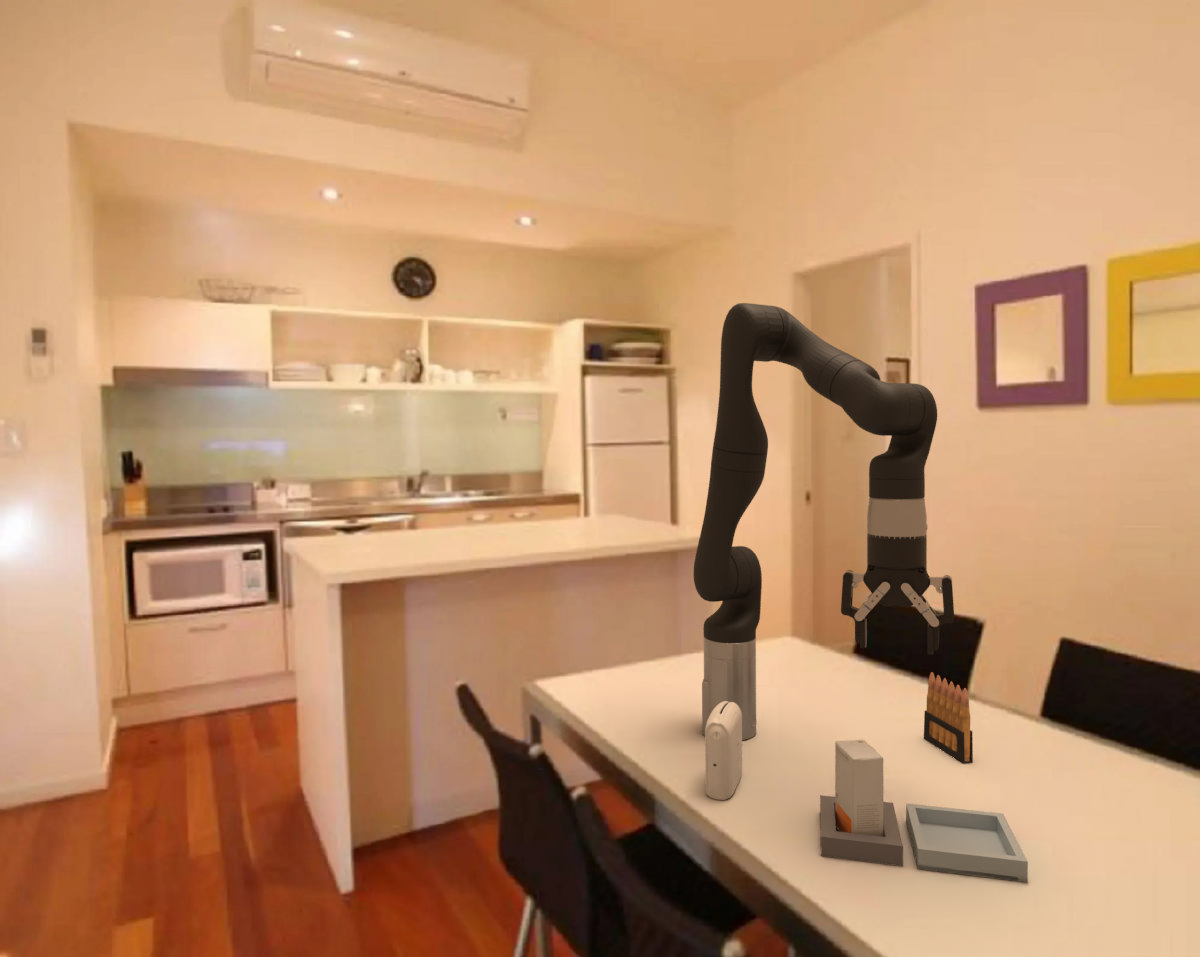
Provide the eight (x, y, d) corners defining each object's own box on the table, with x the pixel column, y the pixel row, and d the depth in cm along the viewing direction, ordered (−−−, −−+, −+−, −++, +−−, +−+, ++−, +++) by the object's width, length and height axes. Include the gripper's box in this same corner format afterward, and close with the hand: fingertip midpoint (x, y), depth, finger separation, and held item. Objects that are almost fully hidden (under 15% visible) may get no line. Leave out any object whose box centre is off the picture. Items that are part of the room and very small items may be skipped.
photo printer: (731, 802, 111) (730, 718, 111) (702, 798, 113) (701, 715, 112) (745, 773, 121) (744, 696, 120) (718, 769, 122) (717, 693, 122)
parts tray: (917, 868, 94) (918, 848, 94) (906, 821, 105) (906, 803, 105) (1027, 882, 91) (1027, 861, 90) (1002, 831, 102) (1003, 813, 102)
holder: (821, 855, 97) (821, 836, 97) (820, 812, 108) (820, 795, 108) (902, 866, 94) (902, 846, 94) (892, 820, 105) (893, 802, 105)
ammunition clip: (973, 763, 124) (974, 689, 123) (962, 764, 123) (963, 690, 123) (932, 737, 134) (933, 669, 134) (923, 738, 134) (923, 670, 133)
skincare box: (833, 827, 104) (834, 740, 103) (864, 825, 104) (864, 738, 104) (852, 850, 98) (852, 758, 97) (884, 849, 98) (885, 757, 98)
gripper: (838, 532, 104) (838, 651, 104) (954, 536, 98) (954, 662, 98) (845, 526, 110) (845, 638, 111) (954, 529, 105) (954, 647, 105)
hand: (896, 649), depth 105 cm, fingers open, 8 cm apart
